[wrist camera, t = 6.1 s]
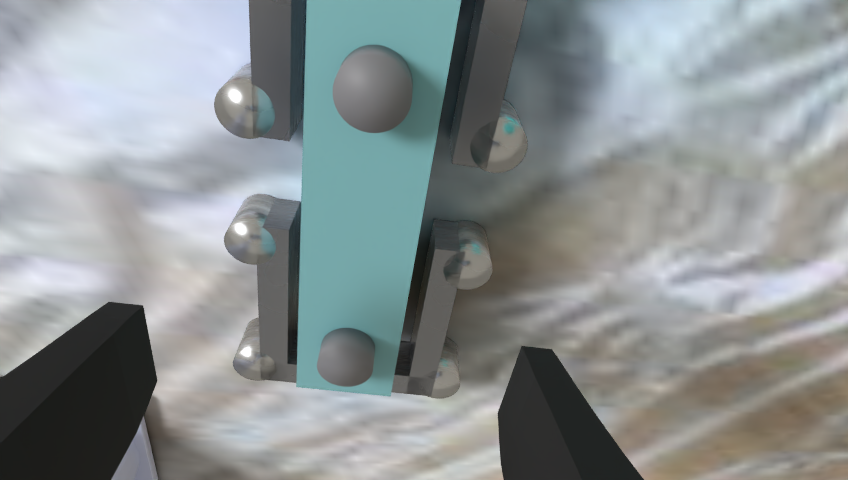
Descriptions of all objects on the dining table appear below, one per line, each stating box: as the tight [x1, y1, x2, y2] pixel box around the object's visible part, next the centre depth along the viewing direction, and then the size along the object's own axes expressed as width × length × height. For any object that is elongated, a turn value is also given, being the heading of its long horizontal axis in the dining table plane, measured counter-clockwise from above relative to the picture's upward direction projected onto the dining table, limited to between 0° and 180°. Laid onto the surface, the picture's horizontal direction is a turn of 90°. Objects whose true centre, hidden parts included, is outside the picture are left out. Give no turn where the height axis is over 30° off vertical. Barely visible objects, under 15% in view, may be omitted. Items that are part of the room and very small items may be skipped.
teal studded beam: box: [296, 0, 461, 396], centre depth 15 cm, size 12×3×5 cm, turn 171°
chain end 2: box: [214, 0, 528, 173], centre depth 14 cm, size 7×9×2 cm
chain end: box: [224, 194, 492, 398], centre depth 19 cm, size 7×9×2 cm
